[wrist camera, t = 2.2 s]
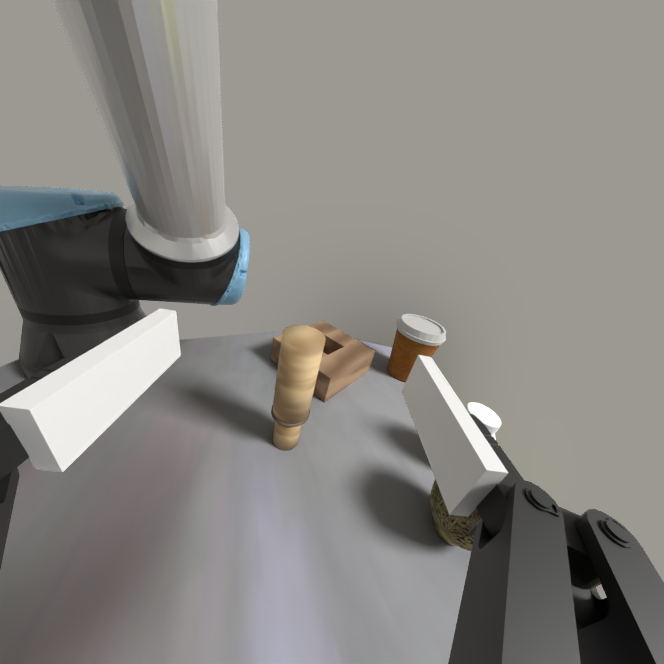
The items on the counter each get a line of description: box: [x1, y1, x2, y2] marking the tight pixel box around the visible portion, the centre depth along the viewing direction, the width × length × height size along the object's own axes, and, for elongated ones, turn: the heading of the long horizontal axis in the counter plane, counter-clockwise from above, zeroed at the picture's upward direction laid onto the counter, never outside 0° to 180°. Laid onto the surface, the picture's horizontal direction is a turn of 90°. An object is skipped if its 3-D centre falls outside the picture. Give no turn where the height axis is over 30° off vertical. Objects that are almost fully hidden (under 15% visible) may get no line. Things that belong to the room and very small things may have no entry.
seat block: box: [271, 321, 375, 402], centre depth 46 cm, size 14×14×5 cm
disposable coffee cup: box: [388, 314, 446, 382], centre depth 48 cm, size 10×10×12 cm
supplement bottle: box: [465, 402, 501, 440], centre depth 31 cm, size 5×5×10 cm
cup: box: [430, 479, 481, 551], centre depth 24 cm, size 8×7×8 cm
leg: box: [271, 325, 326, 450], centre depth 28 cm, size 5×5×16 cm
